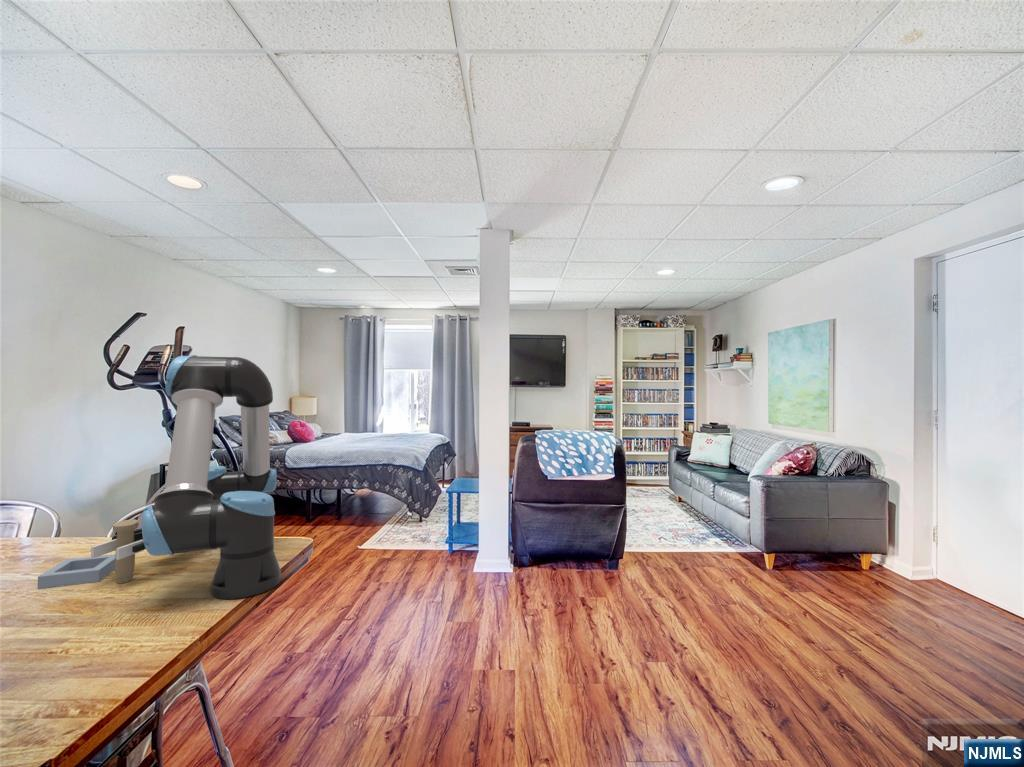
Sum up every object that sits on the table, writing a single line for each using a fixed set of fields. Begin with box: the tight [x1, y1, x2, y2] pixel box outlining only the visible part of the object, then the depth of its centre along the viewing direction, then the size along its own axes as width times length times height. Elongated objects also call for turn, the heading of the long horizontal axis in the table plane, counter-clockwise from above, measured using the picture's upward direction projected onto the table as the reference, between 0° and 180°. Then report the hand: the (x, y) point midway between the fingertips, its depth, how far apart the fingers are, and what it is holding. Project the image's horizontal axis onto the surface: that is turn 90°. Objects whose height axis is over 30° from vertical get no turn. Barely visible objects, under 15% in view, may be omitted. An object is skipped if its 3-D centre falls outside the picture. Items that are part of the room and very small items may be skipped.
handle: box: [112, 518, 139, 584], centre depth 113 cm, size 5×6×15 cm
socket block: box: [37, 553, 116, 590], centre depth 116 cm, size 12×12×3 cm
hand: (105, 553), depth 108 cm, fingers open, 6 cm apart
